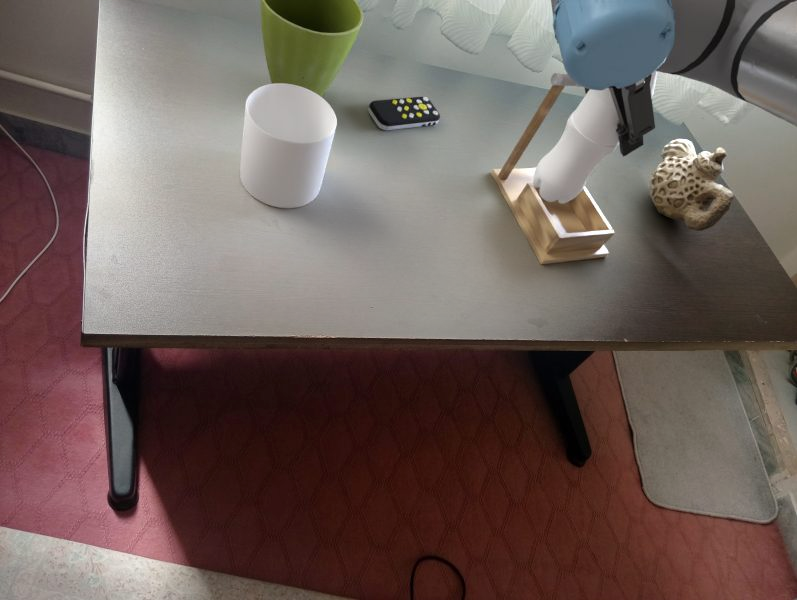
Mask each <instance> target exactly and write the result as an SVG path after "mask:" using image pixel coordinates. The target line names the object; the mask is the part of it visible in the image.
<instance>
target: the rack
mask: <svg viewBox="0 0 797 600" xmlns="http://www.w3.org/2000/svg"><path fill="white" fill-rule="evenodd" d="M550 83H551V87H550V89H549V90H548V91H547V93H546V95H545V96H544V98H543V100H542V102H541V103H540V105H539V107H538V108H537V110H536V111H535V114H534V115H533V117H532V118H531V120H530V122H529V123H528V125H527V127H526V128H525V130H524V131H523V133H522V135H521V137H520V138H519V139H518V142H517V143H516V145H515V146H514V148H513V150H512V152H511V153H510V154H509V156H508V158H507V160H506V161H505V163H504V165H503V166H502V168H493V169H492V170H491V172H490V174H491V176H492V178H493V180H494V181H495V183H496V185H497V187H498V189H499V190H500V192H501V194H502V196H503V198H504V200H505V202H506V203H507V205H508V207H509V209H510V211H511V212H512V214H513V216H514V218H515V220H516V222H517V223H518V225H519V227H520V229H521V231H522V233H523V235H524V236H525V238H526V240H527V242H528V244H529V245H530V247H531V250H532V251H533V253H534V255H535V256H536V258H537V260H538V261H539V264H540V265H547V264H557V263H565V262H573V261H581V260H591V259H597V258H606V257H607V256H609V254H610V251H609V250H608V249H607V247H606V243H607V242H608V241H609V240H610V239H611V238H612V237H613V236H614V235H616V232H615V230H614V228H613V227H612V226H611V224H610V222H609V221H608V220H607V218H606V216H605V214H604V213H603V212H602V210H601V209H600V207H599V205H598V204H597V203H596V200H594V198H593V197H592V195H591V193H590V191H589V190H588V188H587V187H586V185H585V186H584V189H583V190H582V191H581V192H580V193H579V194H578V195H577V196H576V197H575V198H574V199H572V200H570V201H569V202H566V203H564V204H560V203H559V202H558V200H556V201H553V202H548V201H546V200H544V199H543V198H542V197H541V196H540V193H539V191H540V187H539V188H535V187H534V185H533V176H534V172H535V169H536V167H522V168H520V167H519V168H515V167H516V165H517V164H518V163H519V160H520V159H521V158H522V156H523V154H524V152H525V151H526V149H527V148H528V146H529V145H530V143H531V141H533V138H534V137H535V135H536V133H537V132H538V130H539V129H540V127H541V125H542V124H543V122H544V121H545V119H546V118H547V116H548V115H549V112H550V111H551V110H552V108H553V107H554V105H555V103H556V102H557V100H558V98H559V96H560V95H561V94H562V92H563V90H564V89H565V87H577V88H583V87H582V86H580V85H578V84H577V83H575V82H574V81H573V80H572V79H571V78H570V77H569V76H568V74H567V73H558V72H555V73H553V74H552V75H551V77H550Z"/></svg>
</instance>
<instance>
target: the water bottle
mask: <svg viewBox="0 0 797 600" xmlns="http://www.w3.org/2000/svg"><path fill="white" fill-rule="evenodd" d="M658 73H659V72H658V71H654V72H653V73H651V74H652V78H651V82H650V89H651V97H652V98H653V96H654V92H655V87H656V81H657V78H658V77H657V76H658ZM619 123H620V120H619V117H618V114H617V111H616V108H615V105H614V102H613V99H612V96H611V93H610V90H609V88H606V89H604V90H600V91H599V90H592V89H590V90H589V91H588V92H587V94H586V93H585V96H584V97H583V99H582V100H581V101H580V103H579V104H578V106H577V107H576V109H575V110H574V111H572V113H571V114H570V115H569V117H568V119H567V120H566V125H565V128H564V131H563V133H562V135H561V137H560V138H559V140H558V141H557V143H556V144H555V146H553V148H551V150H550V151H548V152H547V153H546V154H545V155H543V157H542V158H541V159H540V160H539V162H538V164H537V165H536V166H535V168H536V169H535V172H534V176H533V185H534V187H535V188H539V187H540V191H539V193H540V196H541V197H542V198H543V199H544V200H546V201H548V202H553V201H556V200H558V202H559V203H560V204H564V203H566V202H569V201H570V200H572V199H574V198H575V197H576V196H577V195H578V194H579V193H580V192H581V191H582V190H583V189H584V186H585V187H586V183H587V181H588V179H589V177H590V175H591V174H592V173H593V171H594V170H595V168H596V167H597V166H598V165H599V164H600V163H601V162H602V161H603V160H604V159H605V158H606V157H608V155H610V154H611V153H613V152H614V151H615V150H616V149H617V148H618V147H619V146H620V145H619V137H618V134H617V132H616V129H617V124H619Z"/></svg>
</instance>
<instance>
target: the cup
mask: <svg viewBox="0 0 797 600" xmlns="http://www.w3.org/2000/svg"><path fill="white" fill-rule="evenodd" d="M244 106H245V107H244V118H243V119H244V120H243V130H242V133H243V134H242V140H241V141H242V143H241V155H240V164H239V165H240V166H239V167H240V168H239V176H240V182H241V185H242V186H243V187H244V189H245V190H246V191H247V192H248V194H250V195H251V196H252V197H253V198H254V199H256V200H257V201H259V202H261V203H263V204H265V205H267V206H271V207H274V208H280V209H295V208H300V207H303V206H307V205H308V204H309V203H311V202H313V201H314V200H315V199H316V198H317V197H318V195H319V194H320V192H321V188H322V184H323V181H324V176H325V172H326V168H327V164H328V161H329V157H330V153H331V149H332V145H333V142H334V137H335V134H336V129H337V126H338V120H337V116H336V113H335V111H334V109H333V107H332V106H331V105H330V103H329V102H328V101H327V100H326V99H324V98H323V96H322V97H320V96H319V95H318V94H316V93H314V92H312V91H311V90H308V89H306V88H303V87H301V86H297V85H293V84H285V83H274V84H272V83H269V84H264V85H262V86H259V87H257V88H256V89H254V90H253V91H251V93H249V95H248V96H247V98H246V101H245V105H244Z"/></svg>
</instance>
